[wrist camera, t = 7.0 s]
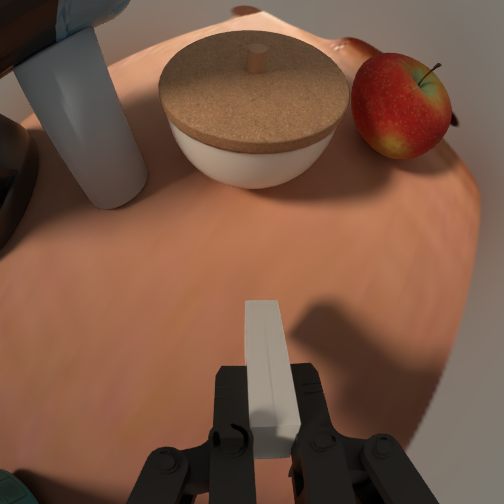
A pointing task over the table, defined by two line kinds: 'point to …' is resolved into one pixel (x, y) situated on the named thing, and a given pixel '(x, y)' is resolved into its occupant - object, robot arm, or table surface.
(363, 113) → the apple
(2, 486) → the beverage bottle
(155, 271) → the table surface
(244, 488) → the robot arm
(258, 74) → the lidded jar
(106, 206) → the post
